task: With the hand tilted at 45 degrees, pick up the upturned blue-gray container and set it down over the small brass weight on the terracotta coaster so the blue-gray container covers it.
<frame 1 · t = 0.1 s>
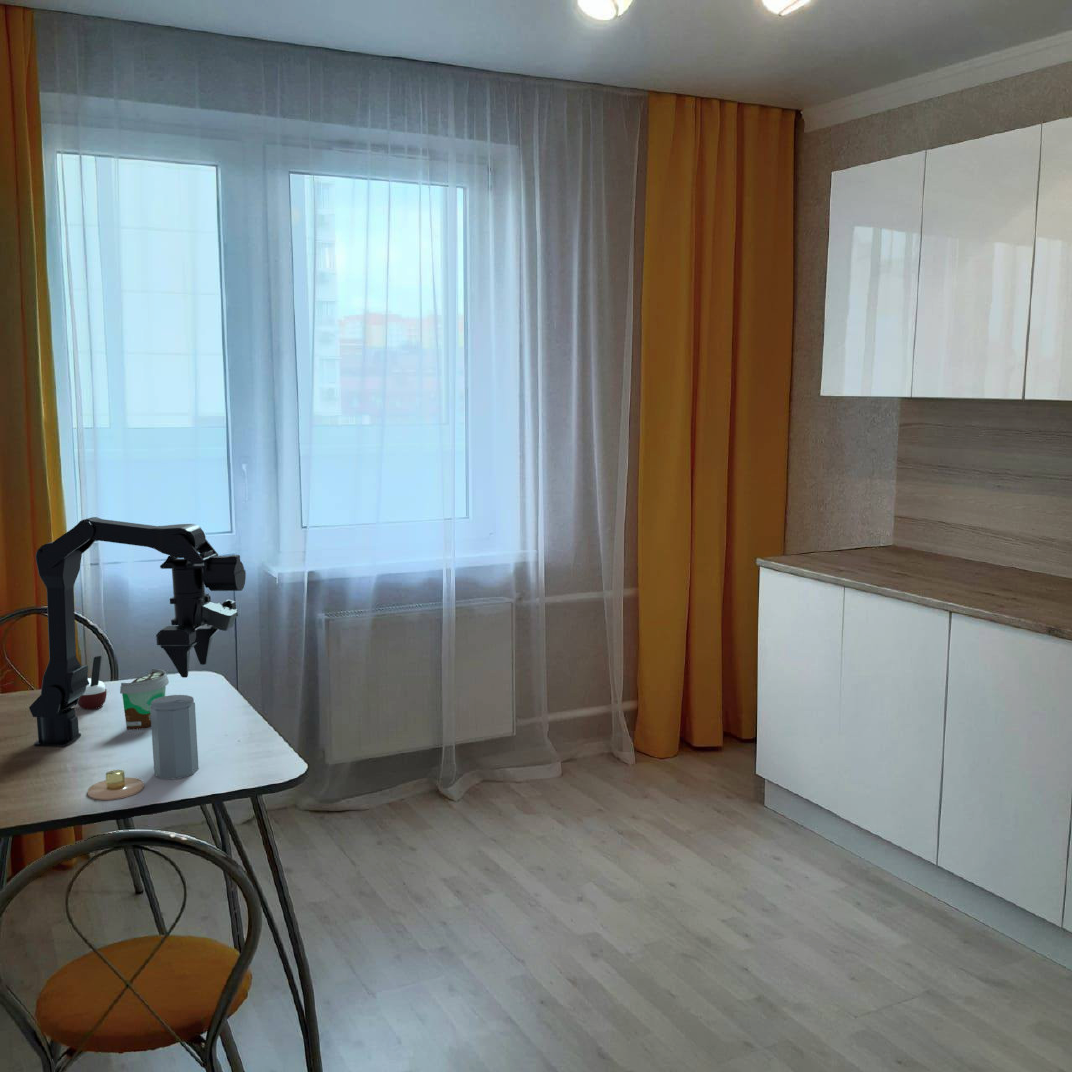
hand: (194, 670, 205), 15 cm above the table, tool pointing down, fingers open, 9 cm apart
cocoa: (91, 708, 231), on the table
food container: (153, 724, 220), on the table
brass weight: (115, 780, 184), on the terracotta coaster
terracotta coaster: (116, 789, 184), on the table
blue-gray container: (176, 771, 192), on the table
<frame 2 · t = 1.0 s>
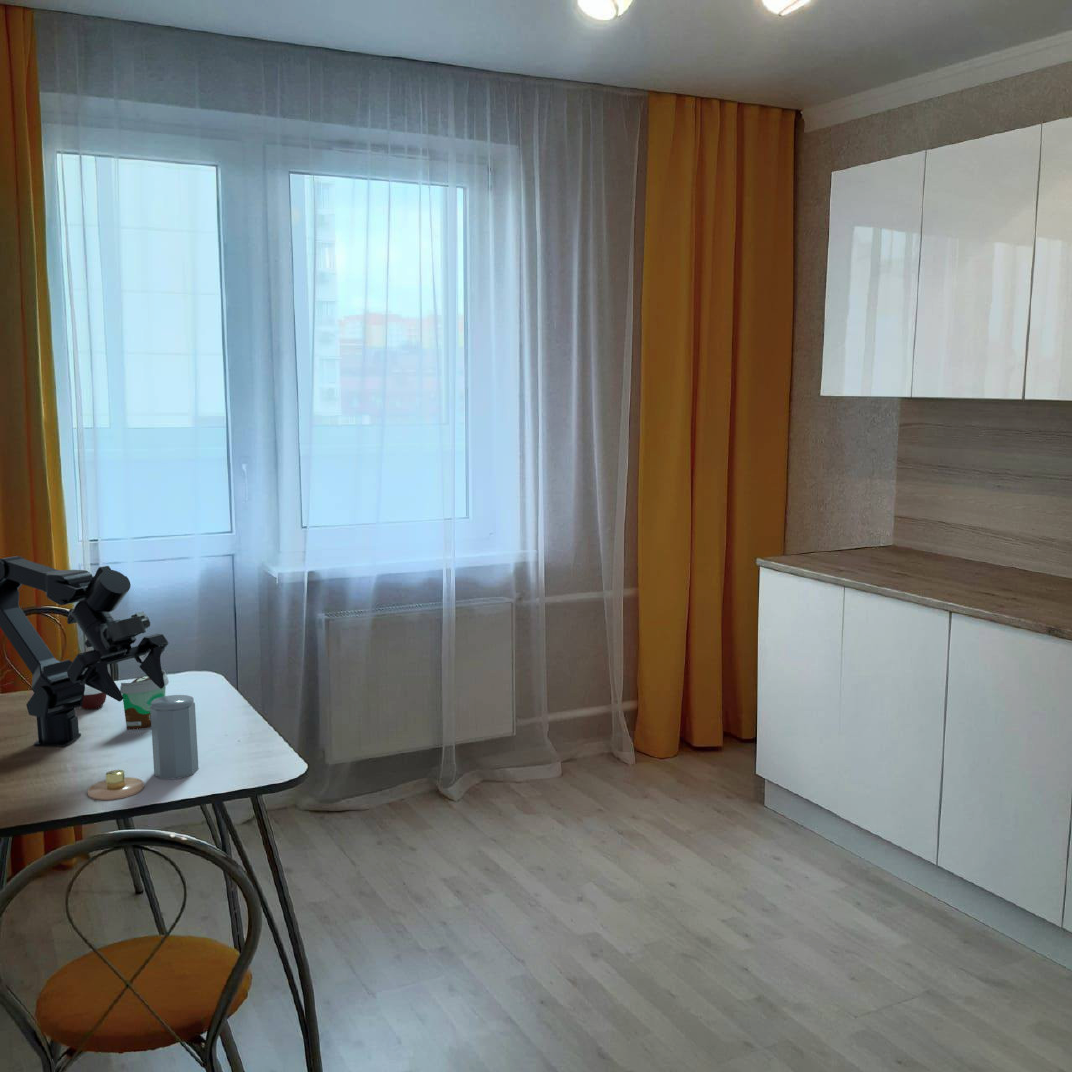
hand: (142, 693, 194), 13 cm above the table, tool tilted 45°, fingers open, 9 cm apart
nothing on the table moved.
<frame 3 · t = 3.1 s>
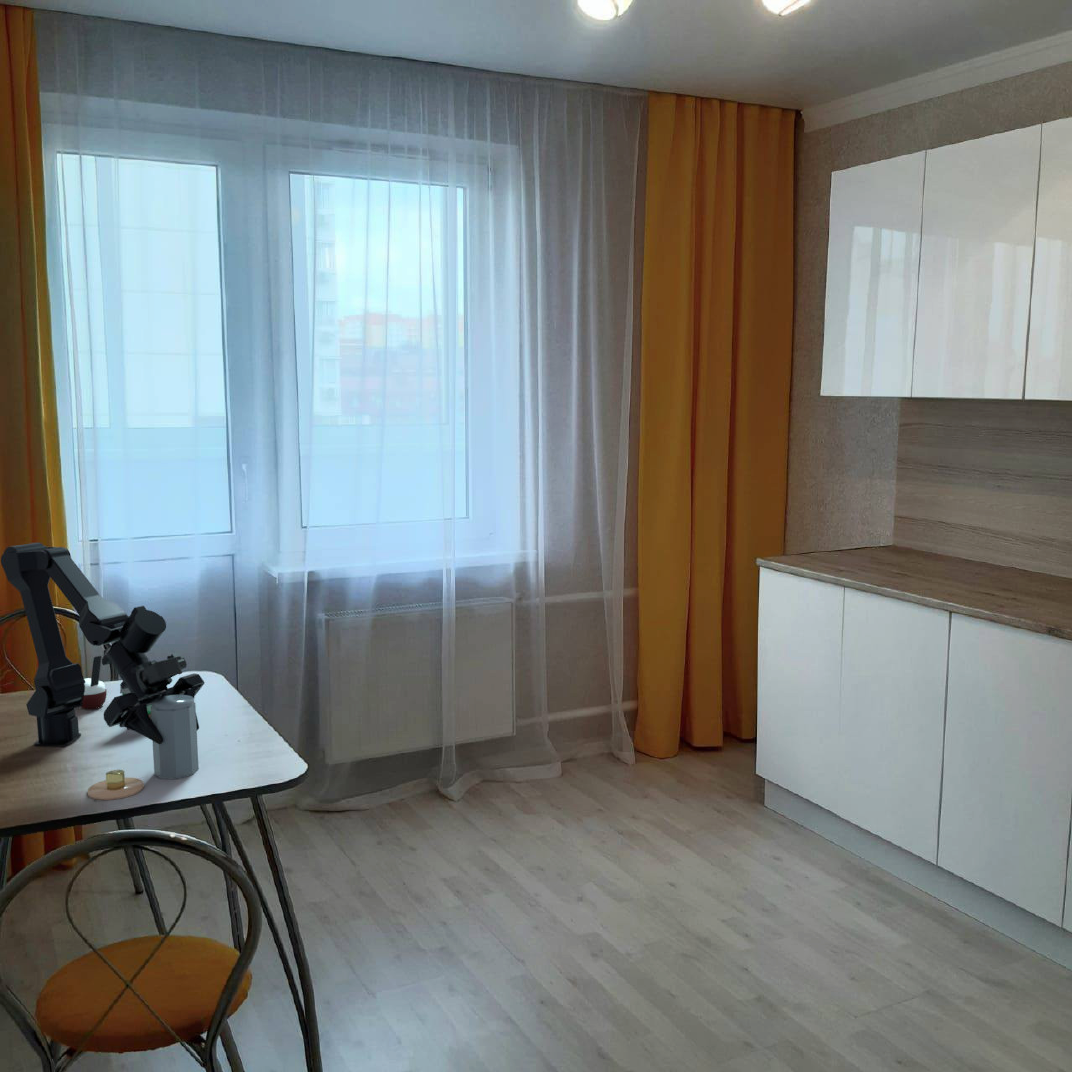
hand: (179, 736, 190), 7 cm above the table, tool tilted 45°, fingers closed on blue-gray container, 8 cm apart
blue-gray container: (176, 771, 192), on the table, touching gripper
everything else where it was.
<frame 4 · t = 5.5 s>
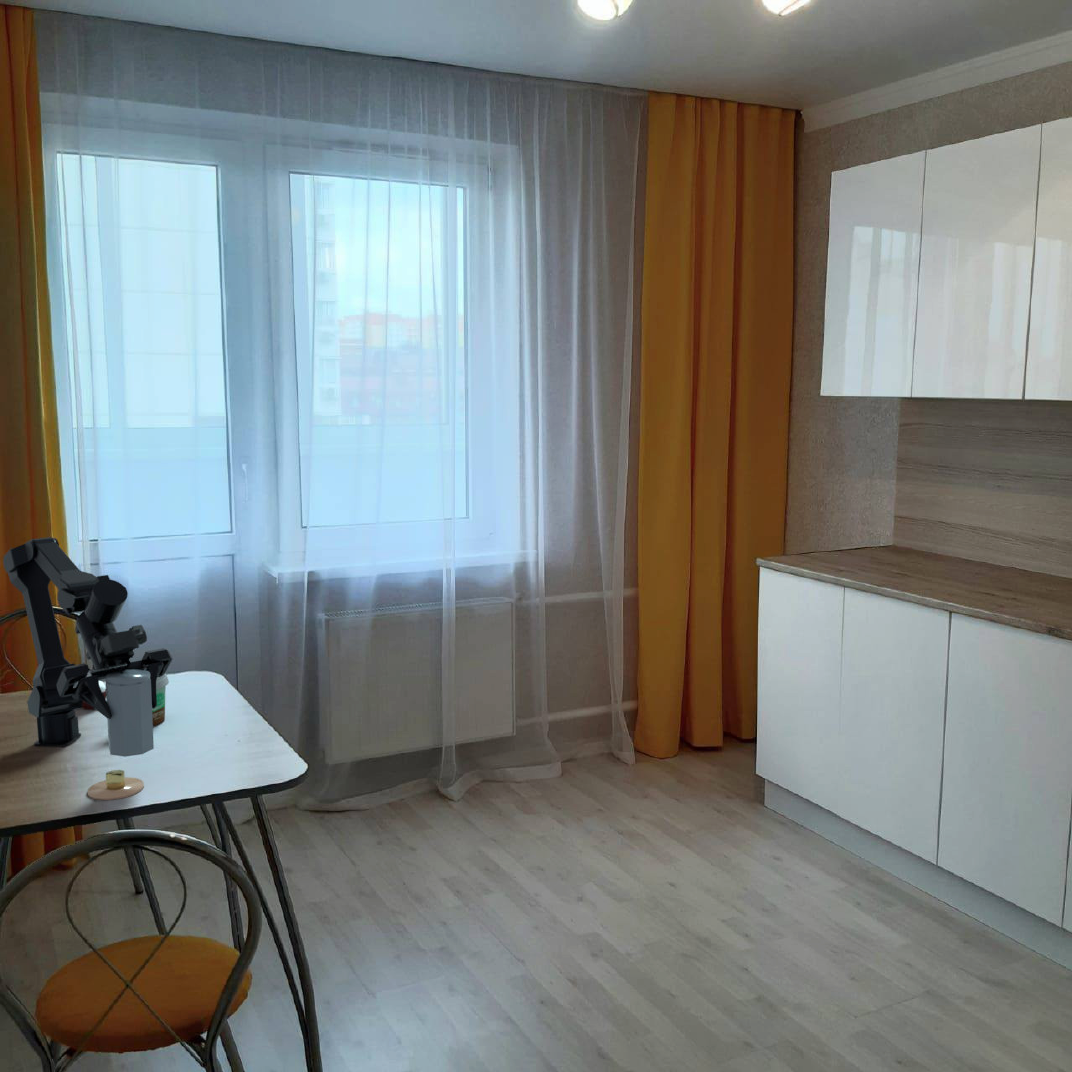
hand: (133, 712, 183), 13 cm above the table, tool tilted 45°, fingers closed on blue-gray container, 8 cm apart
blue-gray container: (131, 749, 185), point 7 cm above the table, touching gripper
everything else where it was.
when the fingers open (8 cm above the table, at t = 8.0 s): blue-gray container stays where it is, resting on terracotta coaster.
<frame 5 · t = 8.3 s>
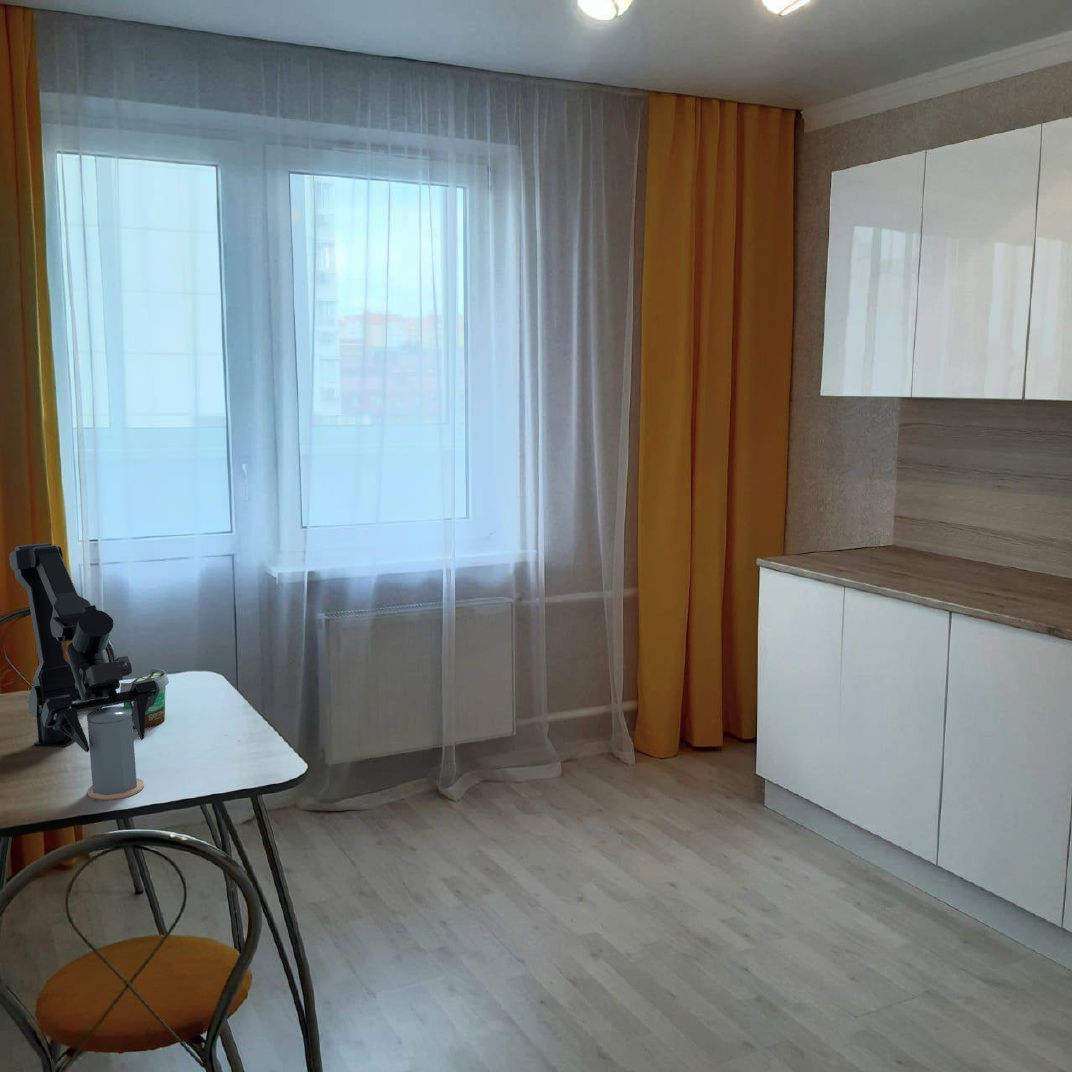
hand: (115, 744, 182), 8 cm above the table, tool tilted 45°, fingers open, 9 cm apart
blue-gray container: (115, 786, 184), point 1 cm above the table, touching terracotta coaster
everything else where it was.
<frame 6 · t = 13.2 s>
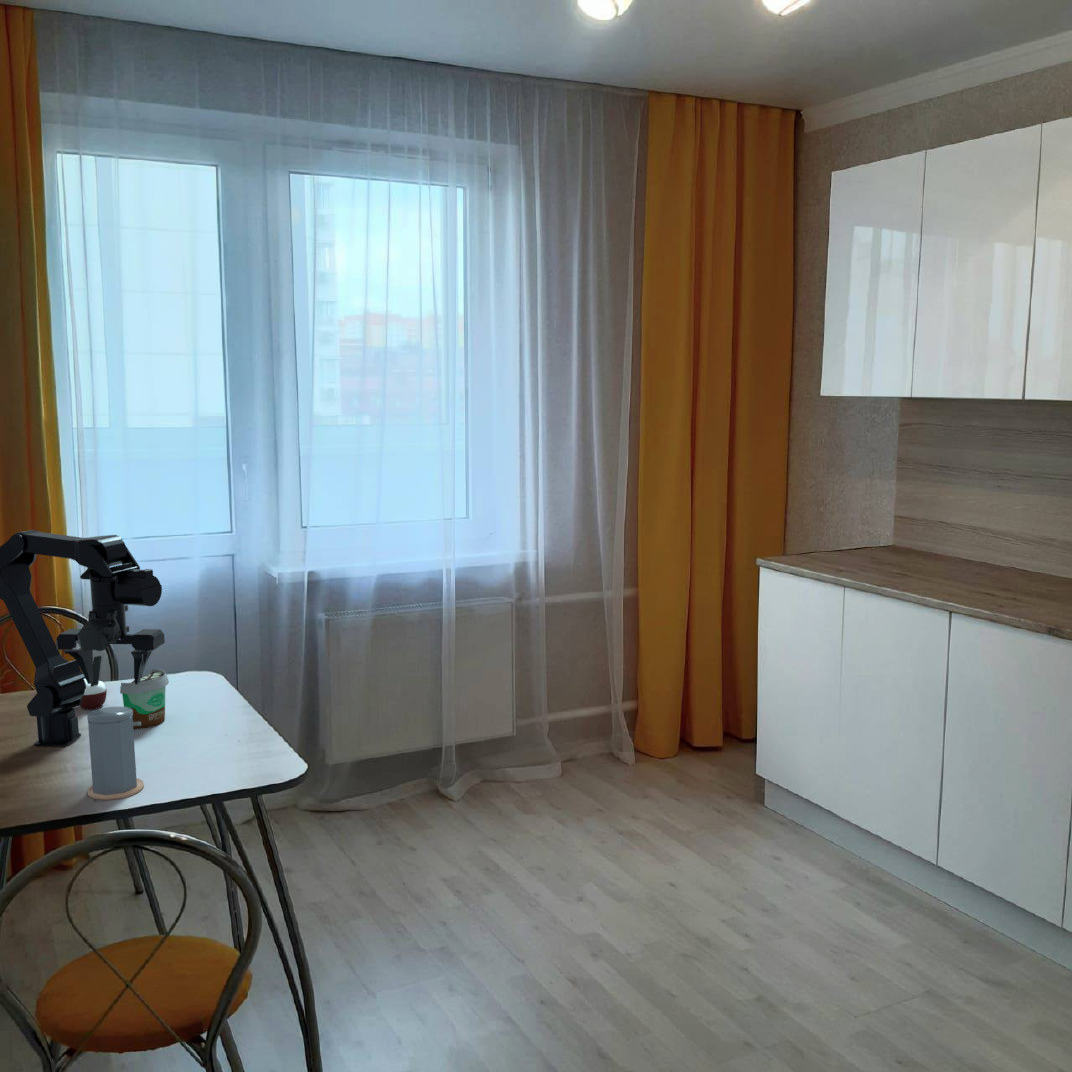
hand: (113, 683, 202), 13 cm above the table, tool pointing down, fingers open, 9 cm apart
nothing on the table moved.
at the end: blue-gray container 0.2 cm from the brass weight (horizontally); blue-gray container tilted 0°; blue-gray container point 0.5 cm above the table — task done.
